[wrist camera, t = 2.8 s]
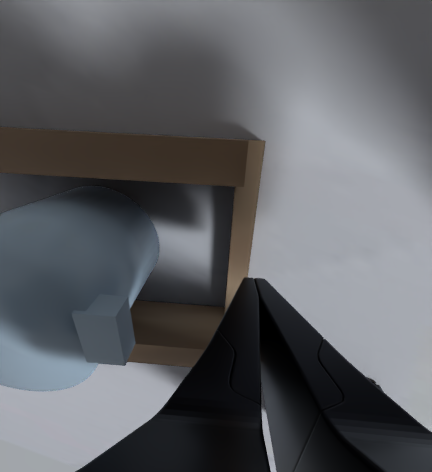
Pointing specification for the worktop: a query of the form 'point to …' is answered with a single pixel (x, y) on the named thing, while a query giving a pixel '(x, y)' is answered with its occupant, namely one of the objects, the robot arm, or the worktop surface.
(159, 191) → the worktop surface
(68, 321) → the jug
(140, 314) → the cradle
